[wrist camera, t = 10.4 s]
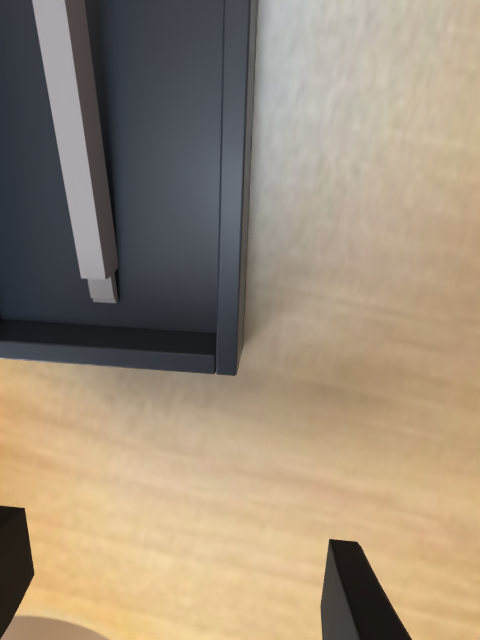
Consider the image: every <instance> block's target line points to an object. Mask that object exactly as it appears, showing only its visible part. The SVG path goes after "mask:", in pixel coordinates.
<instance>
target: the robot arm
mask: <svg viewBox="0 0 480 640" xmlns="http://www.w3.org/2000/svg"><path fill="white" fill-rule="evenodd" d="M33 576H34V568H33V561H32V554H31V548H30V541H29V534H28V527H27V521H26V514H25V508H18V507H8V506H0V639H1V637H2V636H3V634H4V632H5V631H6V629H7V628H8V626H9V624H10V623H11V621H12V619H13V617H14V615H15V613H16V611H17V609H18V607H19V605H20V603H21V601H22V599H23V597H24V595H25V593H26V591H27V589H28V587H29V585H30V582H31V580H32V578H33ZM321 622H322V639H323V640H412V639H411V637H410V636H409V634H408V632H407V631H406V629H405V627H404V626H403V624H402V622H401V621H400V619H399V617H398V615H397V614H396V612H395V610H394V608H393V607H392V605H391V603H390V601H389V599H388V598H387V596H386V594H385V592H384V590H383V589H382V587H381V585H380V583H379V581H378V579H377V577H376V575H375V574H374V572H373V570H372V568H371V566H370V564H369V562H368V560H367V558H366V556H365V554H364V552H363V550H362V547H361V546H360V545H359V544H358V543H357V542H353V541H343V540H334V539H329V546H328V553H327V561H326V569H325V576H324V584H323V592H322V600H321Z"/></svg>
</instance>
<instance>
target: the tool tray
mask: <svg viewBox="0 0 480 640" xmlns="http://www.w3.org/2000/svg"><path fill="white" fill-rule="evenodd" d="M85 8H86V16H87V24H88V32H89V39H90V47H91V55H92V63H93V71H94V79H95V87H96V95H97V102H98V110H99V118H100V125H101V133H102V141H103V148H104V156H105V164H106V172H107V179H108V187H109V195H110V202H111V210H112V218H113V225H114V233H115V241H116V249H117V256H118V269H117V270H116V271H115V280H116V287H117V295H118V303H103V302H93V298H91V296H90V291H89V285H88V279H85V278H81V275H80V269H79V263H78V258H77V252H76V246H75V241H74V235H73V230H72V224H71V218H70V213H69V207H68V201H67V196H66V190H65V185H64V179H63V173H62V168H61V162H60V156H59V151H58V145H57V139H56V134H55V128H54V122H53V117H52V111H51V105H50V99H49V94H48V88H47V82H46V77H45V71H44V65H43V60H42V54H41V48H40V42H39V37H38V31H37V25H36V20H35V14H34V8H33V2H32V0H0V359H13V360H27V361H40V362H54V363H68V364H82V365H95V366H109V367H123V368H137V369H150V370H164V371H178V372H192V373H206V374H215V372H216V374H218V375H232V376H235V375H236V374H237V371H238V367H239V362H240V358H241V354H242V350H243V337H244V314H245V290H246V267H247V243H248V220H249V196H250V173H251V149H252V126H253V102H254V79H255V55H256V32H257V8H258V0H85Z"/></svg>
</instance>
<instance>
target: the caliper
mask: <svg viewBox="0 0 480 640" xmlns="http://www.w3.org/2000/svg"><path fill="white" fill-rule="evenodd" d="M32 2H33V8H34V14H35V20H36V25H37V31H38V37H39V42H40V48H41V54H42V60H43V65H44V71H45V77H46V82H47V88H48V94H49V99H50V105H51V111H52V117H53V122H54V128H55V134H56V139H57V145H58V151H59V156H60V162H61V168H62V173H63V179H64V185H65V190H66V196H67V201H68V207H69V213H70V218H71V224H72V230H73V235H74V241H75V246H76V252H77V258H78V263H79V269H80V275H81V278H85V279H88V285H89V291H90V296H91V298H93V302H103V303H118V295H117V287H116V280H115V271H116V270H117V269H118V256H117V249H116V241H115V233H114V225H113V218H112V210H111V202H110V195H109V187H108V179H107V172H106V164H105V156H104V148H103V141H102V133H101V125H100V118H99V110H98V102H97V95H96V87H95V79H94V71H93V63H92V55H91V47H90V39H89V32H88V24H87V16H86V8H85V0H32Z"/></svg>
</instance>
